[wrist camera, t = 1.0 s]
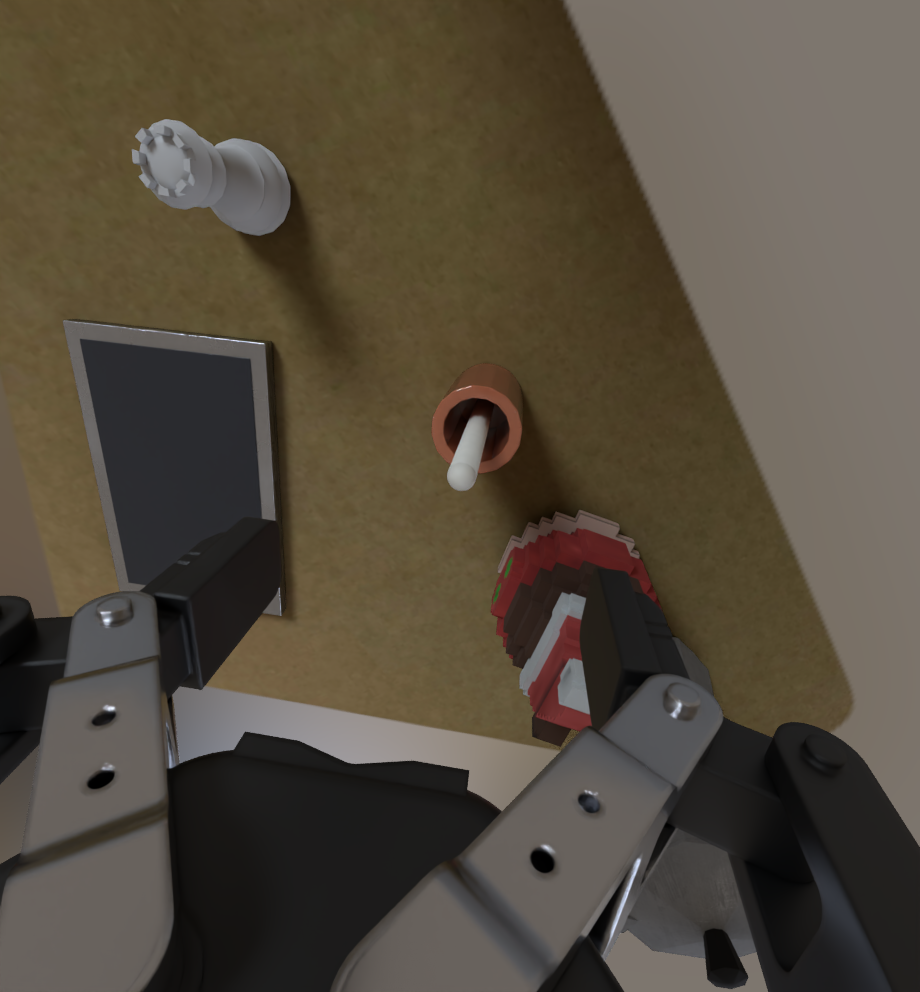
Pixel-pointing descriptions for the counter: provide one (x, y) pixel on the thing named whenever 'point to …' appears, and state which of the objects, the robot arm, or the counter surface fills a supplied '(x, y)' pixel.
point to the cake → (557, 610)
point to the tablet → (176, 439)
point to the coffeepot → (695, 895)
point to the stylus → (471, 447)
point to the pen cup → (459, 406)
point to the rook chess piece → (214, 176)
